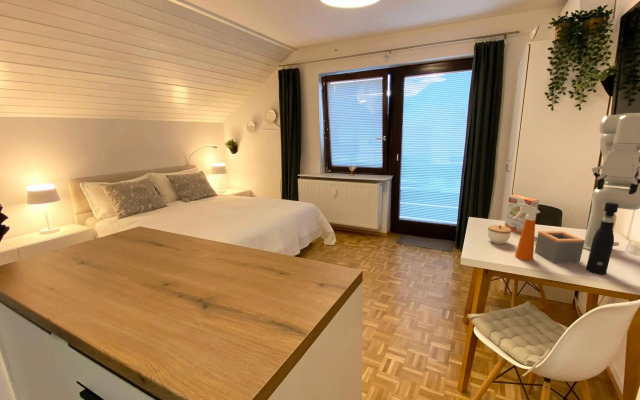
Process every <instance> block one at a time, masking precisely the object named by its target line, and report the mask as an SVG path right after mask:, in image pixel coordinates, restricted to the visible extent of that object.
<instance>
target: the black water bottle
mask: <svg viewBox="0 0 640 400" xmlns="http://www.w3.org/2000/svg"><path fill="white" fill-rule="evenodd" d="M618 206H619V204H616V203H605V208H604V211H606V213H605V216H604V217H603V221H601V225H600V228H599V229H598V230H597V232H596V233H595V235H594V237H593V241H592V245H591V249H590V250H589V255H588V260H587V263H586V268H585V270H586V271H587V272H589V273H590V274H591V273H592V274H594V275H598V276H599V275H600V276H606V274H607V272H608V266H609V264H610V263H609V262H610V260H611V254H612V253H613V252H612V249H613V248H614V246H613V244H614V242H615V236H614V230H613V225H614V223H613V222H614V221H613V220H614V218H612V217H614V213H615V214H616V213H618V209H619V208H618ZM611 252H612V253H611Z"/></svg>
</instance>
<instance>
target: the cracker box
mask: <svg viewBox="0 0 640 400" xmlns="http://www.w3.org/2000/svg"><path fill="white" fill-rule="evenodd" d="M519 203H522V204H523V203H524V204H528V205H530V206H532V207H534V208H536V209H538V210H539V208H538V207H539V203H540V200H539V199H535V198H531V197H527V196H523V195H519V194H510V195H509V196H508V204H507V207H506V208H507V209H506V215H505V216H506V217H505V220H504V226H505V227H508V228H510V229H511V232H514V233H516V234H519V235H521V234H522V230H523V227H524V223H525V220H526V216H527V215H528V212H525V213H524V214H522V215H521V216H519V217H518V218H515V219H513V218H514V217H515V216H516V215H517V214H518V213H519V212H520V210H521V209H520V208H521V206H519ZM524 211H526V210H524ZM537 214H538V213H536V214H535V216H536V217H537ZM535 221H537V218H536V219H535Z"/></svg>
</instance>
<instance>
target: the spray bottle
mask: <svg viewBox="0 0 640 400" xmlns="http://www.w3.org/2000/svg"><path fill="white" fill-rule="evenodd" d="M519 206H521V208H520V209H521V210H520V212H519V213H518V214H517V215H516V216H515V217H514V218H513V219H515V218H518V217H519V216H521V215H522V214H524V213H525V212H528V215H527V216H526V220H525V223H524V227H523V230H522V234H520V238H519V241H518V244H517V247H516V251H515V254H514V255H515V258H517V259H519V260H522V261H533V260H534V253H535V237H536V236H535V233H536V220H537V215H536V216H535V214H536V213H537V214H539V213H541V211H540V210H539V208H538V209H536V208H534V207H532V206H530V205H528V204H524V203H523V204H522V203H519ZM524 210H526V211H524ZM535 219H536V220H535Z"/></svg>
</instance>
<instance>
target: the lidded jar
mask: <svg viewBox="0 0 640 400" xmlns="http://www.w3.org/2000/svg"><path fill="white" fill-rule="evenodd" d="M511 234H512V231H511V229H510V228H508V227H505V225H502V224H491V225H488V227H487V237H488V239H489V240H490V241H491V243H493V244H497V245H504V244H505V243H507V242H508V241H509V239H510V238H511Z"/></svg>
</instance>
